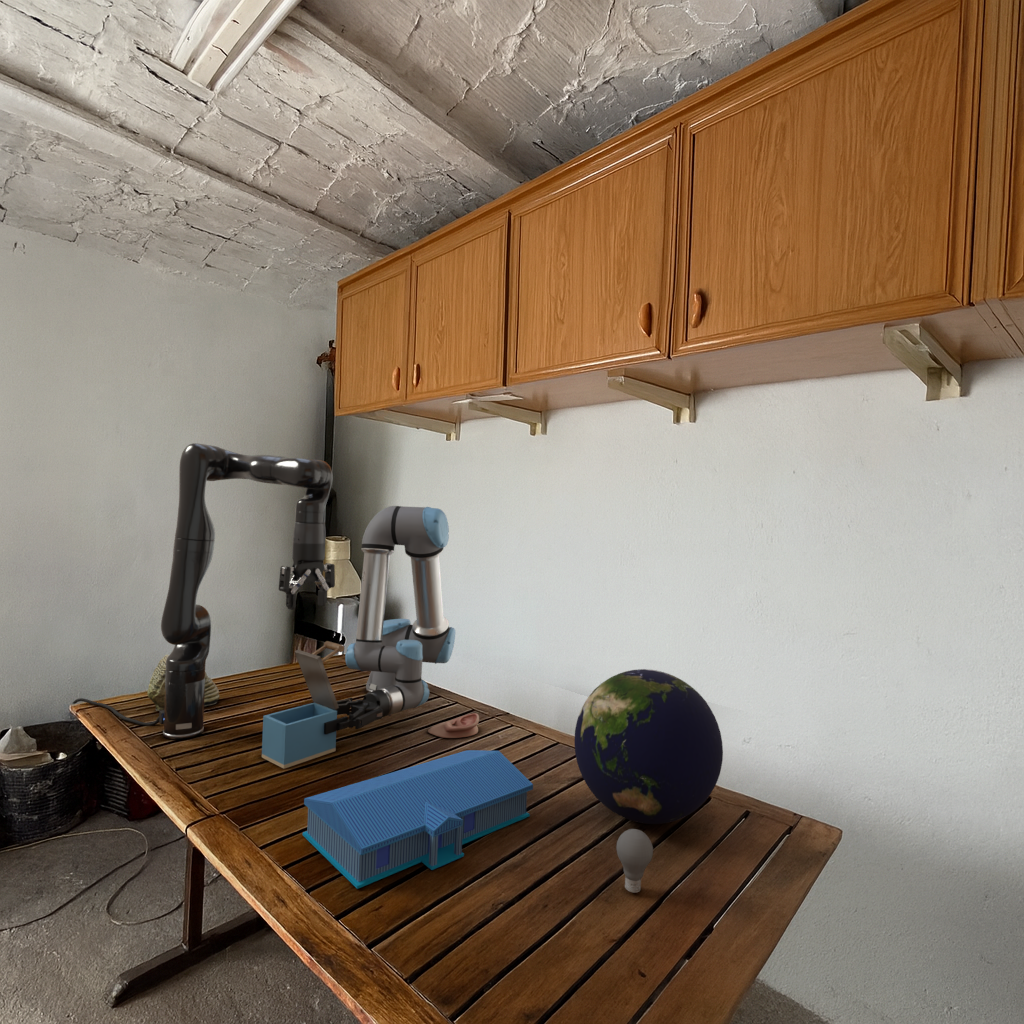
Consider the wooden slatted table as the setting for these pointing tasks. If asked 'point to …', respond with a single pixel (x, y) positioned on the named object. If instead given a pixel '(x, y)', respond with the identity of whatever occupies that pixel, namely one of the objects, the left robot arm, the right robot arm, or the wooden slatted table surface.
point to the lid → (318, 674)
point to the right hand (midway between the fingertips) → (312, 723)
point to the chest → (297, 735)
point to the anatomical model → (457, 727)
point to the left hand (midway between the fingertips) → (306, 607)
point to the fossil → (158, 687)
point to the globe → (648, 746)
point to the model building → (416, 814)
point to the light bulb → (634, 857)
